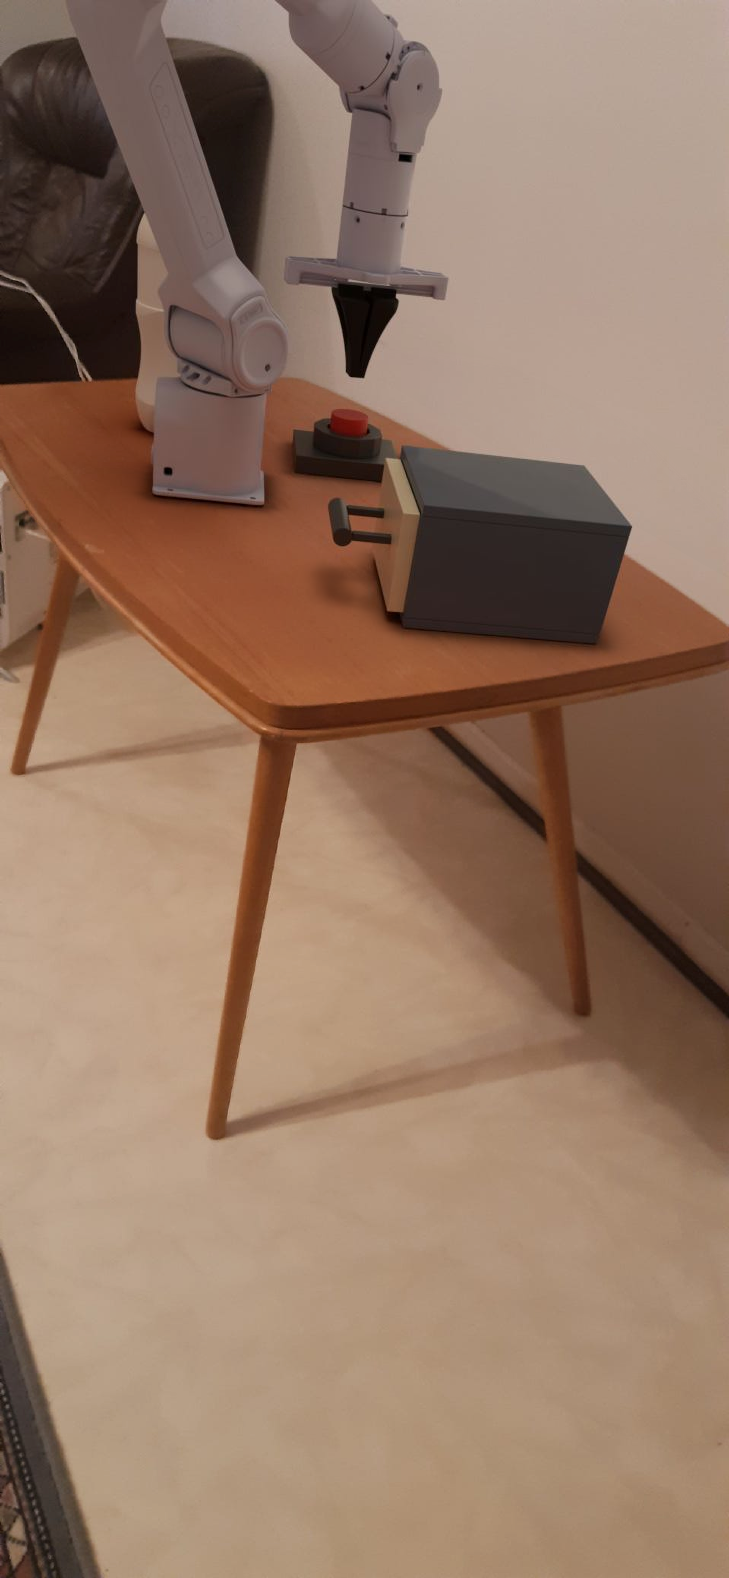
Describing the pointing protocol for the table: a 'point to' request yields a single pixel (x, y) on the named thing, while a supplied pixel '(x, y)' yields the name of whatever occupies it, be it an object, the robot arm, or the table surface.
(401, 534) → the drawer
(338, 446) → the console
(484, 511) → the cabinet
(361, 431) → the button
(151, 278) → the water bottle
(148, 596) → the table surface
